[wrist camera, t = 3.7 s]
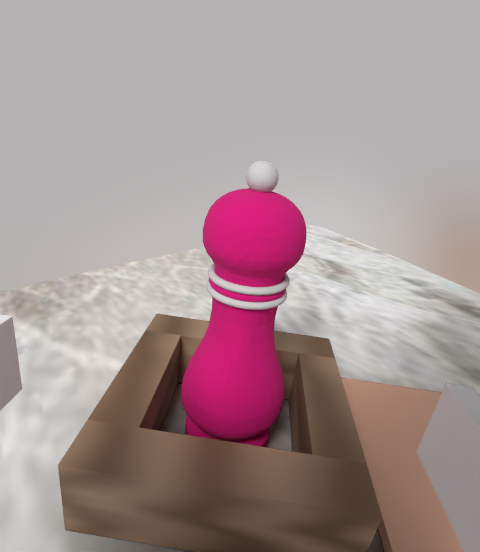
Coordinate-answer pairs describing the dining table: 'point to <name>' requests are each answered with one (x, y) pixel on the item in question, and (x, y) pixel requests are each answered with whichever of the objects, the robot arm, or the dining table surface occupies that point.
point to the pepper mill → (243, 312)
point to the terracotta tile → (400, 465)
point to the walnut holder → (220, 460)
